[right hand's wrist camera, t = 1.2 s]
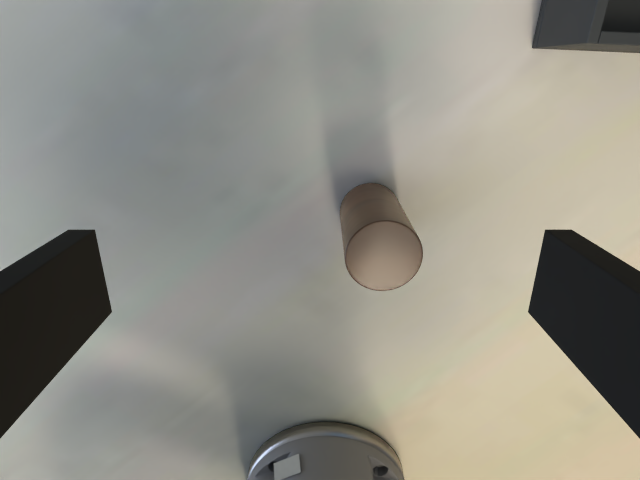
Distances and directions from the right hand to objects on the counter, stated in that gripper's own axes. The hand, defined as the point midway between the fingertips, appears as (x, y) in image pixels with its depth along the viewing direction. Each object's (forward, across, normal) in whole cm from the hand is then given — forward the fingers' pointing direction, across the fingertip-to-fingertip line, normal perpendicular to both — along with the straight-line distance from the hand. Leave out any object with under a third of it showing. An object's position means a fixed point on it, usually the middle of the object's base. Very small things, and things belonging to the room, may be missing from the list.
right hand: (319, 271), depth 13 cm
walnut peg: (+18, -4, +4) cm, 19 cm away
